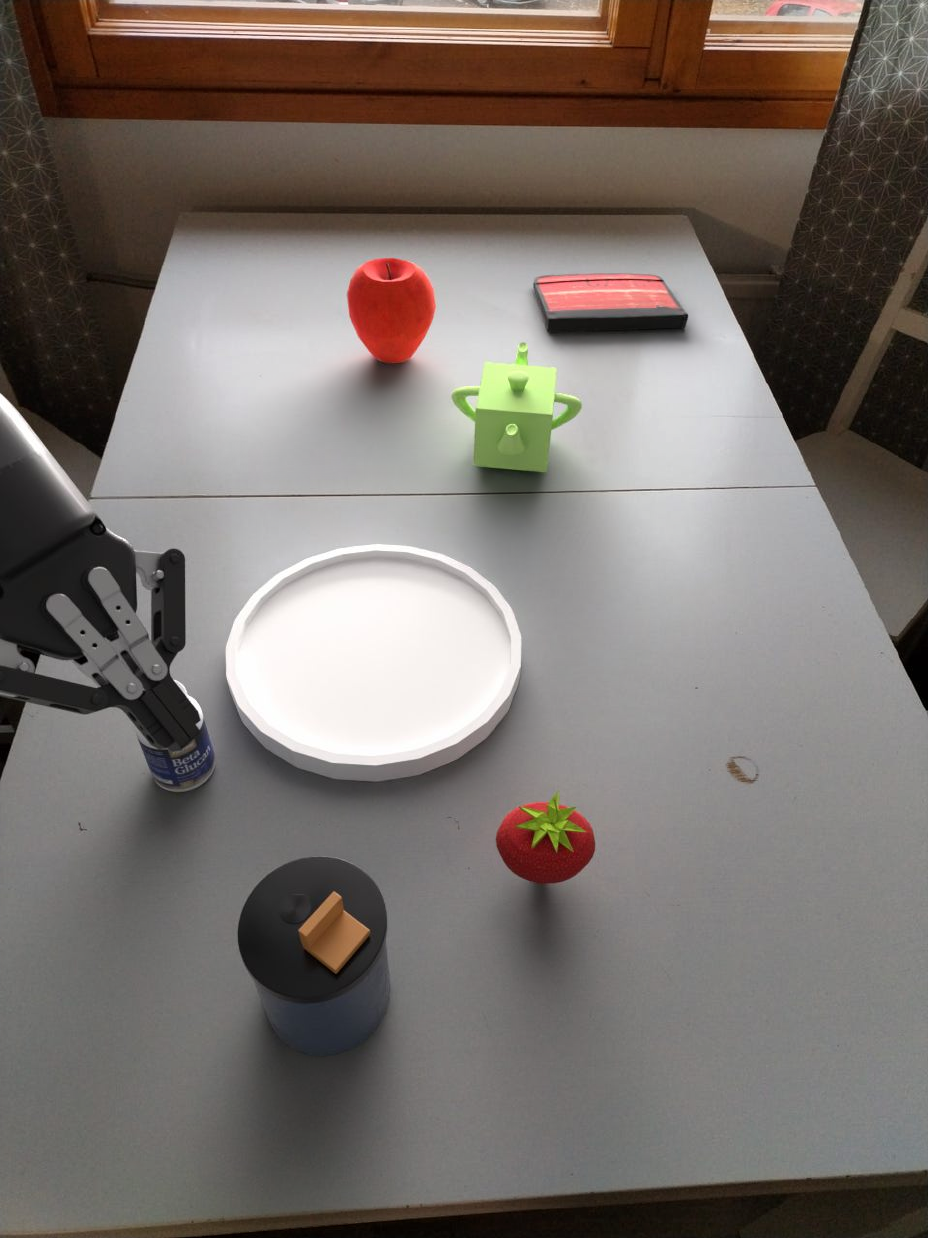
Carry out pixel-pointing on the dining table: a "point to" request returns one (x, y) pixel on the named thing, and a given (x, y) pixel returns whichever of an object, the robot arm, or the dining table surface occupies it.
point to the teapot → (515, 413)
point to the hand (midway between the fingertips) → (186, 742)
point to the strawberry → (545, 841)
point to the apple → (391, 307)
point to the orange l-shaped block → (332, 934)
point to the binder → (607, 302)
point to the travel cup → (298, 982)
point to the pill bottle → (181, 758)
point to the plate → (374, 662)
